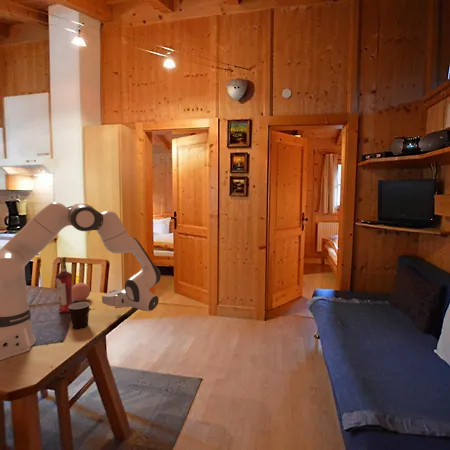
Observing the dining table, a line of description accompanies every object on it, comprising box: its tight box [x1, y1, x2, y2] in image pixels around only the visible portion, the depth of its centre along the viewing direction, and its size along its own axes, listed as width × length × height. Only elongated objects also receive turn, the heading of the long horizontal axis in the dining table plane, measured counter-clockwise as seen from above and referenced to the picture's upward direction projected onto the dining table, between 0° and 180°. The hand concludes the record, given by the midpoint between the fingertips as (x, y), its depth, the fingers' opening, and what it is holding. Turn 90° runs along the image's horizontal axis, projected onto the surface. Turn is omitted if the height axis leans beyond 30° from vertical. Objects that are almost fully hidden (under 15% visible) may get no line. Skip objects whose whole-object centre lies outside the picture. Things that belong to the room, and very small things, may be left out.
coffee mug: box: [68, 301, 90, 331], centre depth 151 cm, size 12×9×10 cm
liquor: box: [55, 256, 73, 314], centre depth 167 cm, size 7×7×28 cm
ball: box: [72, 282, 91, 302], centre depth 183 cm, size 10×10×10 cm
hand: (111, 291), depth 169 cm, fingers closed
